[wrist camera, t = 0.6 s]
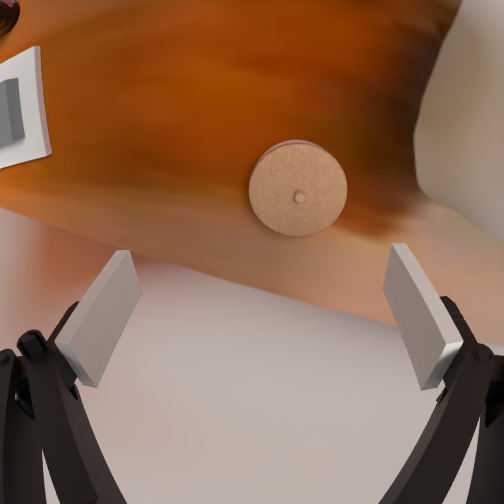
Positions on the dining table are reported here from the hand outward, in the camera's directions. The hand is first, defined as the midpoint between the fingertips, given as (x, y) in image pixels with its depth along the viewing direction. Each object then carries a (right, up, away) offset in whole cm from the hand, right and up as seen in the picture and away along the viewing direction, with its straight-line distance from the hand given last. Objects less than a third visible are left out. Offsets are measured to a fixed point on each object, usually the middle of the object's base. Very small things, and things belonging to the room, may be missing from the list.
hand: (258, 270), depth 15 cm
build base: (-40, +24, +20) cm, 51 cm away
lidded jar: (+5, +11, +24) cm, 27 cm away
